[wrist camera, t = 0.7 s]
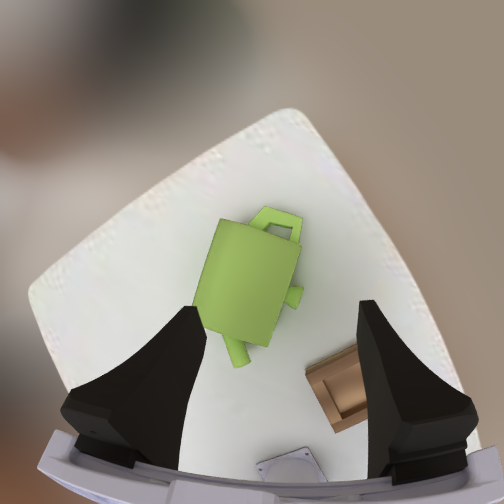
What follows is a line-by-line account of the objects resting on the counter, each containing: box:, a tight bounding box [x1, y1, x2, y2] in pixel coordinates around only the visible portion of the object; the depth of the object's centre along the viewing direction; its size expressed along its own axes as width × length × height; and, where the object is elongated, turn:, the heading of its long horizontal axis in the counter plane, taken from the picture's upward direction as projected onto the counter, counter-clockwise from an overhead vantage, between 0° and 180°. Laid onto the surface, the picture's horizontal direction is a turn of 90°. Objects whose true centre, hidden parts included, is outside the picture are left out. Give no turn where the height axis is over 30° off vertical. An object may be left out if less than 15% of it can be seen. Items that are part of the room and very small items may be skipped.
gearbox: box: [192, 206, 303, 368], centre depth 34 cm, size 18×10×10 cm, turn 161°
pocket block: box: [305, 344, 368, 434], centre depth 34 cm, size 9×11×3 cm
